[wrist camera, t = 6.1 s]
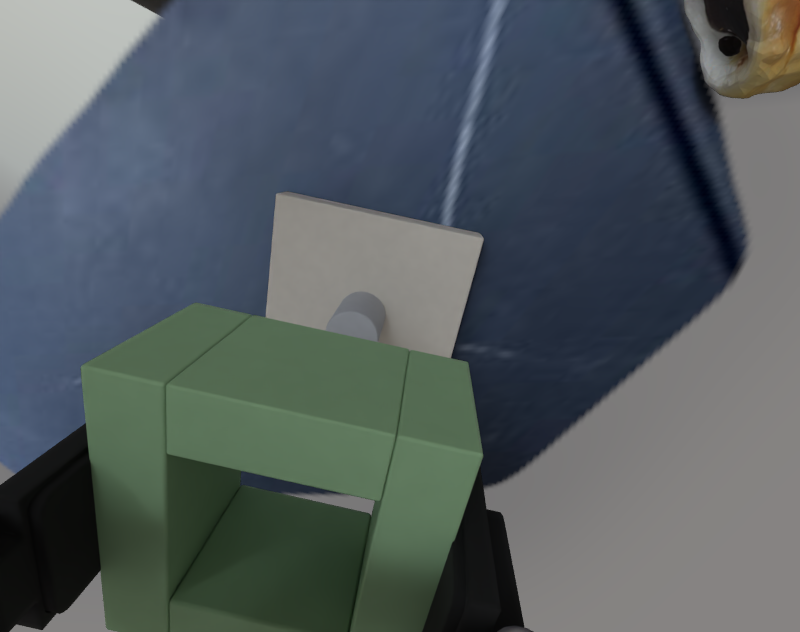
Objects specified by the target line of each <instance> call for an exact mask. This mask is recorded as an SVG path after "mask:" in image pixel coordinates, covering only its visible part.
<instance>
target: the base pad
mask: <svg viewBox="0 0 800 632" xmlns="http://www.w3.org/2000/svg"><path fill="white" fill-rule="evenodd" d="M483 241H484V238H483V237H482V235H481V234H480V233H477V232H472V231H467V230H463V229H458V228H454V227H449V226H444V225H440V224H435V223H431V222H426V221H421V220H417V219H412V218H407V217H403V216H398V215H394V214H389V213H384V212H380V211H375V210H371V209H366V208H361V207H357V206H352V205H348V204H343V203H338V202H334V201H329V200H325V199H320V198H315V197H311V196H306V195H301V194H297V193H292V192H288V191H287V192H282V193H277V194H276V200H275V212H274V224H273V236H272V248H271V260H270V271H269V283H268V295H267V307H266V318H270V319H275V320H279V321H284V322H288V323H293V324H297V325H302V326H306V327H311V328H316V329H320V330H325V331H329V332H334V333H338V334H343V335H348V336H352V337H357V338H361V339H366V340H370V341H375V342H380V343H384V344H389V345H393V346H398V347H402V348H407V349H409V352H410V350H415V351H420V352H424V353H429V354H433V355H438V356H442V357H447V358H451V356H452V352H453V348H454V345H455V341H456V338H457V334H458V331H459V327H460V323H461V320H462V316H463V313H464V309H465V305H466V302H467V298H468V295H469V291H470V288H471V284H472V280H473V277H474V273H475V270H476V266H477V262H478V259H479V255H480V252H481V248H482V244H483Z"/></svg>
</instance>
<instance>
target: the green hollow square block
mask: <svg viewBox="0 0 800 632" xmlns="http://www.w3.org/2000/svg"><path fill="white" fill-rule="evenodd" d="M81 379H82V389H83V399H84V409H85V419H86V429H87V439H88V449H89V460H90V462H91V472H92V482H93V493H94V503H95V513H96V523H97V533H98V544H99V554H100V564H101V570H100V571H101V581H102V591H103V601H104V611H105V621H106V628H107V629H108V630H113V631H117V632H422V631H423V628H424V625H425V622H426V619H427V616H428V613H429V610H430V607H431V604H432V601H433V598H434V595H435V592H436V589H437V586H438V583H439V580H440V577H441V574H442V571H443V568H444V565H445V562H446V560H447V557H448V554H449V551H450V548H451V545H452V542H453V541H454V540H455V538H456V535H457V532H458V529H459V526H460V523H461V520H462V517H463V514H464V511H465V508H466V505H467V502H468V499H469V497H470V494H471V491H472V488H473V485H474V482H475V479H476V476H477V473H478V470H479V467H480V464H481V461H482V458H483V451H482V445H481V439H480V433H479V427H478V420H477V414H476V408H475V402H474V395H473V389H472V383H471V377H470V371H469V364H468V362H465V361H461V360H456V359H452V358H447V357H442V356H438V355H433V354H429V353H424V352H420V351H415V350H410V352H409V349H407V348H402V347H398V346H393V345H389V344H384V343H380V342H375V341H370V340H366V339H361V338H357V337H352V336H348V335H343V334H338V333H334V332H329V331H325V330H320V329H316V328H311V327H306V326H302V325H297V324H293V323H288V322H284V321H279V320H275V319H270V318H265V317H261V316H256V315H253V316H252V315H250V314H246V313H241V312H237V311H232V310H228V309H223V308H219V307H214V306H209V305H205V304H200V303H193V304H192V305H190V306H188V307H186V308H184V309H182V310H181V311H179V312H177V313H175V314H173V315H172V316H170V317H168V318H166V319H164V320H163V321H161V322H159V323H157V324H155V325H154V326H152V327H150V328H148V329H146V330H145V331H143V332H141V333H139V334H137V335H135V336H134V337H132V338H130V339H128V340H126V341H125V342H123V343H121V344H119V345H117V346H116V347H114V348H112V349H110V350H108V351H107V352H105V353H103V354H101V355H99V356H97V357H96V358H94V359H92V360H90V361H88V362H87V363H85V364H83V365H82V366H81ZM241 471H245V472H249V473H254V474H258V475H263V476H267V477H272V478H276V479H281V480H285V481H290V482H294V483H298V484H303V485H307V486H312V487H316V488H321V489H325V490H330V491H334V492H339V493H343V494H348V495H352V496H357V497H361V498H365V499H370V500H374V501H375V503H374V507H373V511H372V516H371V515H370V514H369V513H365V512H361V511H356V510H352V509H348V508H343V507H339V506H334V505H330V504H325V503H320V502H316V501H312V500H307V499H303V498H298V497H294V496H290V495H285V494H281V493H276V492H272V491H267V490H263V489H258V488H254V487H249V486H245V485H242V486H240V478H241Z"/></svg>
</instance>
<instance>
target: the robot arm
mask: <svg viewBox="0 0 800 632" xmlns="http://www.w3.org/2000/svg"><path fill="white" fill-rule="evenodd" d="M100 570H101V564H100V554H99V544H98V533H97V523H96V513H95V503H94V493H93V482H92V472H91V462H90V460H89V449H88V439H87V429H86V423H85V424H84V425H83V426H81V427H80V428H78V429H77V430H76V431H74V432H73V433H72V434H70V435H69V436H67V437H66V438H65V439H63V440H62V441H60V442H59V443H58V444H56V445H55V446H54V447H52V448H51V449H49V450H48V451H47V452H45V453H44V454H43V455H41V456H40V457H38V458H37V459H36V460H34V461H33V462H31V463H30V464H29V465H27V466H26V467H25V468H23V469H22V470H20V471H19V472H18V473H16V474H15V475H14V476H12V477H11V478H9V479H8V480H7V481H5V482H4V483H3V484H1V485H0V632H9V631H10V630H11V629H12V628H13V627H14V626H15V625H16V624H18V625H22V626H26V627H31V628H35V629H39V630H43V629H44V627H45V626H46V625H47V624H48V623H49V622H50V621H51V619H52V618H53V617H54V616H55V615H56V613H59V614H60V613H63V612H64V611H65V610H67V609H68V608H69V607H70V606H71V605H72V604H73V602H74V601H75V600H76V599H77V598H78V596H79V595H80V594H81V593H82V592H83V590H84V589H85V588H86V587H87V586H88V584H89V583H90V582H91V581H92V580H93V579H94V577H95V576H96V575H97V574H98V572H99V571H100ZM422 632H533V631H531V630H529V629H527V628H524V623H523V617H522V612H521V607H520V601H519V596H518V591H517V586H516V580H515V575H514V570H513V565H512V559H511V554H510V549H509V544H508V538H507V533H506V528H505V522H504V519H503V515H502V514H501V513H500V512H496V511H491V510H487V509H486V503H485V496H484V489H483V482H482V475H481V468H480V467H479V470H478V473H477V476H476V479H475V482H474V485H473V488H472V491H471V494H470V497H469V499H468V502H467V505H466V508H465V511H464V514H463V517H462V520H461V523H460V526H459V529H458V532H457V535H456V538H455V540H454V541H453V542H452V545H451V548H450V551H449V554H448V557H447V560H446V562H445V565H444V568H443V571H442V574H441V577H440V580H439V583H438V586H437V589H436V592H435V595H434V598H433V601H432V604H431V607H430V610H429V613H428V616H427V619H426V622H425V625H424V628H423V631H422Z"/></svg>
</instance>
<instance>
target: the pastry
mask: <svg viewBox="0 0 800 632" xmlns="http://www.w3.org/2000/svg"><path fill="white" fill-rule="evenodd" d="M684 9H685V14H686V16H687V17H688V18H689V21H690V24H691V27H692V30H693V31H694V33H695V35H696V36H697V38H698V39H699V41H700V43H701V52H700V63H701V68H702V72H703V75H704V80H705V82H706V84H707V85H708V86H710V87H711V88H712V89H713V90H714V91H716V92H717V93H718V94H719V95H722V96H726V97H730V98H742V99H744V98H749V97H751V96H753V95H756V94H762V93H770V92H779V91H784V90H786V89H788V88H790V87H793V86H795V85H797V84H799V83H800V0H684Z"/></svg>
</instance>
